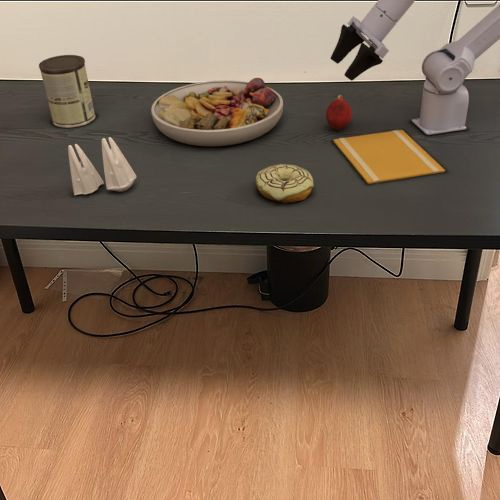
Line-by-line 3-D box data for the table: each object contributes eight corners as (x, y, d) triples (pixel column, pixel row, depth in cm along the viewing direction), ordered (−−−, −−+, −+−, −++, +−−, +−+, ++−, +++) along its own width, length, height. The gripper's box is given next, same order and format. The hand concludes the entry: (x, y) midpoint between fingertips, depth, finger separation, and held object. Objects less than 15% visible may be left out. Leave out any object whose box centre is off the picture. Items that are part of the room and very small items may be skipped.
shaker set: (138, 184, 125) (130, 132, 118) (134, 194, 121) (125, 142, 115) (78, 185, 125) (67, 133, 119) (73, 196, 122) (60, 143, 116)
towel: (401, 131, 140) (402, 129, 139) (445, 172, 124) (445, 169, 123) (333, 141, 137) (333, 139, 137) (367, 184, 121) (368, 182, 121)
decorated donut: (279, 212, 114) (278, 194, 112) (245, 189, 121) (244, 171, 119) (323, 193, 118) (324, 176, 116) (289, 172, 126) (288, 155, 124)
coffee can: (50, 115, 156) (37, 58, 148) (92, 108, 158) (82, 52, 150) (53, 131, 148) (39, 72, 140) (98, 123, 150) (86, 65, 142)
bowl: (207, 166, 130) (204, 130, 125) (129, 124, 149) (123, 92, 144) (310, 122, 145) (310, 89, 141) (227, 90, 164) (225, 60, 160)
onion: (350, 136, 139) (352, 101, 134) (324, 134, 140) (324, 100, 135) (352, 125, 143) (354, 91, 139) (326, 124, 144) (327, 90, 140)
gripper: (357, -11, 129) (315, 44, 134) (388, 18, 118) (341, 76, 124) (379, 8, 133) (337, 60, 138) (411, 37, 123) (364, 92, 128)
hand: (340, 69), depth 131 cm, fingers open, 7 cm apart
